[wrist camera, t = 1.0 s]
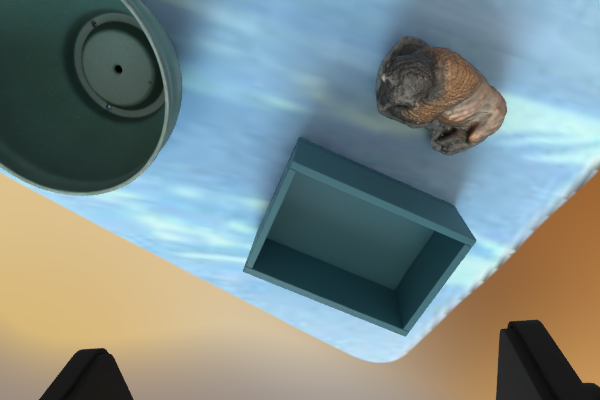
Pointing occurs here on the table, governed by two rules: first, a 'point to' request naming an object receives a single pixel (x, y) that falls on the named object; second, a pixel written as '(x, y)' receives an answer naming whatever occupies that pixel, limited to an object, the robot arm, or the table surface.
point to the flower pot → (84, 92)
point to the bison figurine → (438, 95)
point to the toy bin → (357, 239)
